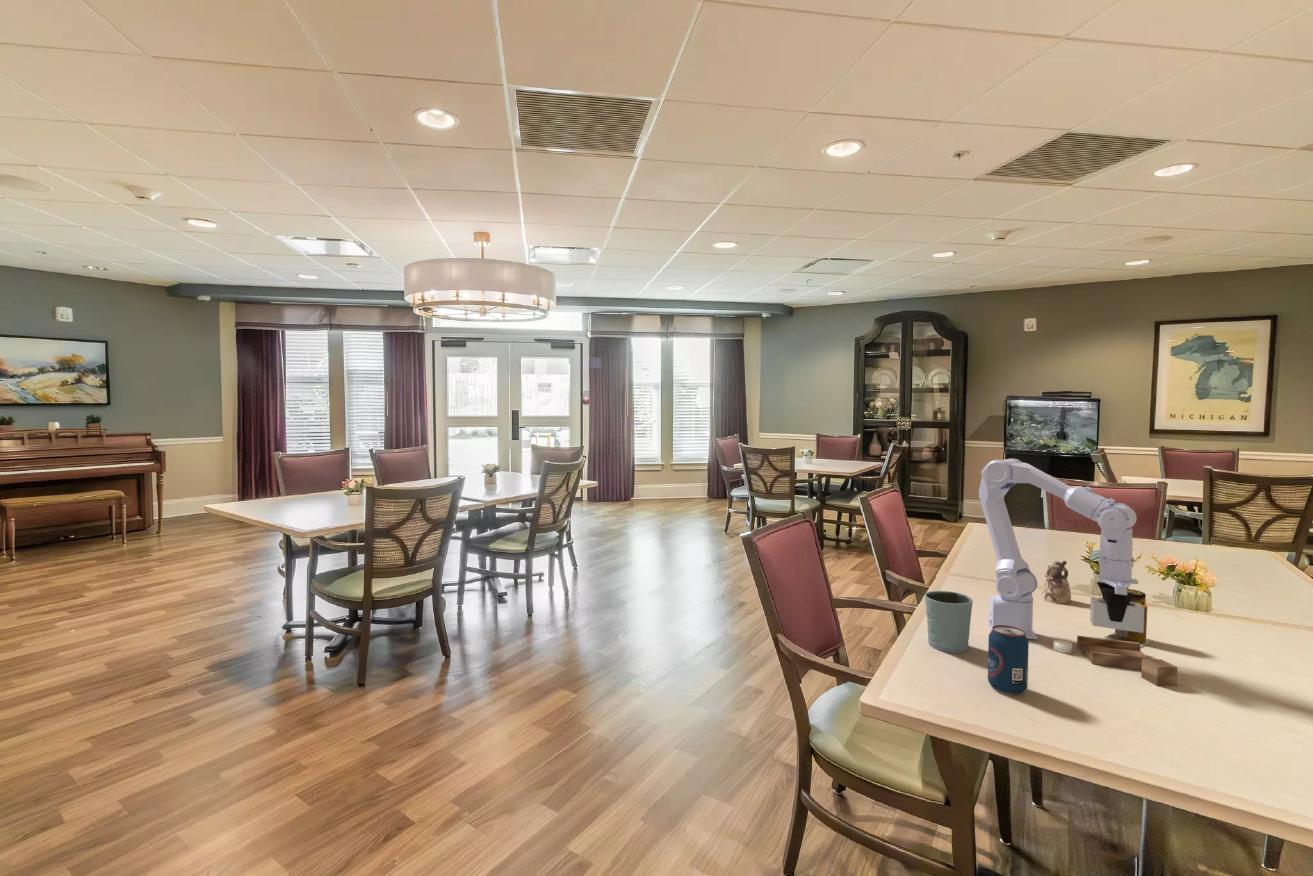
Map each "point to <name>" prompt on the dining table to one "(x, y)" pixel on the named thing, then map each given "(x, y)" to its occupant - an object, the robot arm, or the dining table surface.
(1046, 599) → the figurine
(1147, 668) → the walnut block
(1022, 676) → the soda can
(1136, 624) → the block
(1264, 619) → the dining table surface
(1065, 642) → the plastic cap
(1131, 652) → the stand
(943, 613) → the green embossed planter
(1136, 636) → the condiment
